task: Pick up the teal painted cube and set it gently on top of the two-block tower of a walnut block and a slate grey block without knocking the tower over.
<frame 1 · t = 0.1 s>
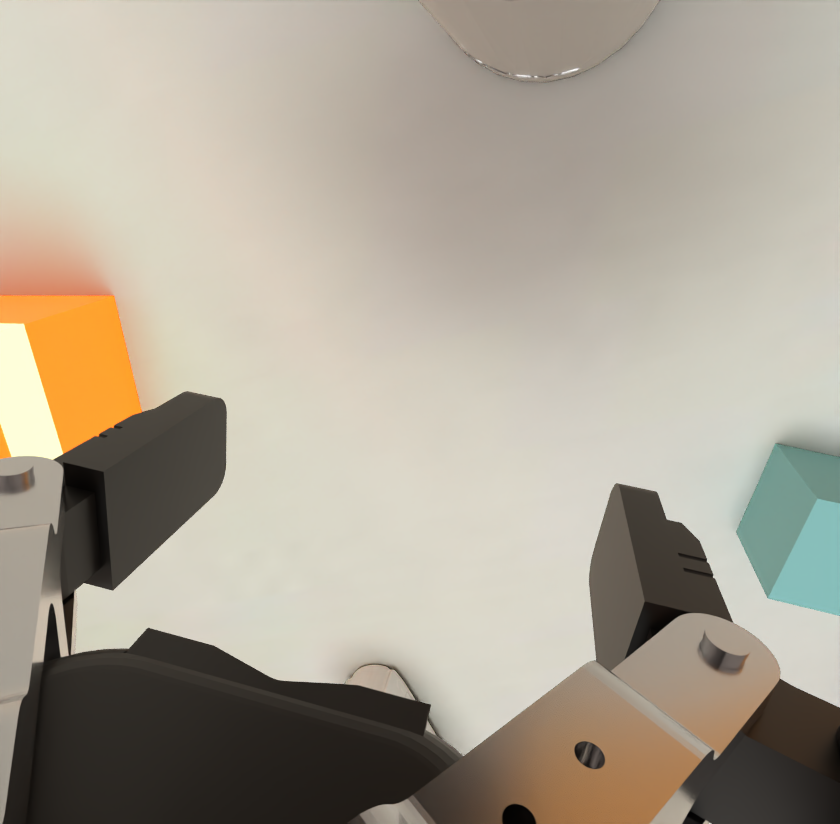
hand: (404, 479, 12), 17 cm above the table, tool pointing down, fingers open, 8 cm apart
teal block: (809, 500, 28), on the table
photo printer: (402, 717, 40), on the table
orange juice: (76, 370, 34), on the table
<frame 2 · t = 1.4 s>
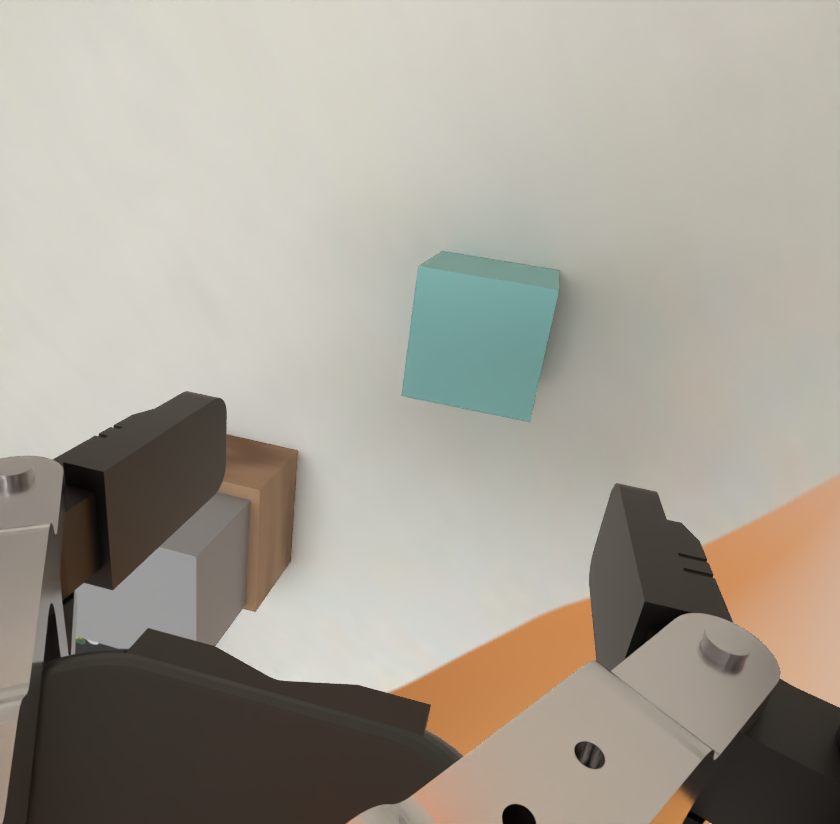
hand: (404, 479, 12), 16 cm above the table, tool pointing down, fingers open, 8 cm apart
walnut base: (235, 492, 33), on the table, touching slate block
slate block: (190, 538, 29), point 4 cm above the table, touching walnut base
teal block: (489, 317, 27), on the table
disk drive: (94, 587, 39), on the table
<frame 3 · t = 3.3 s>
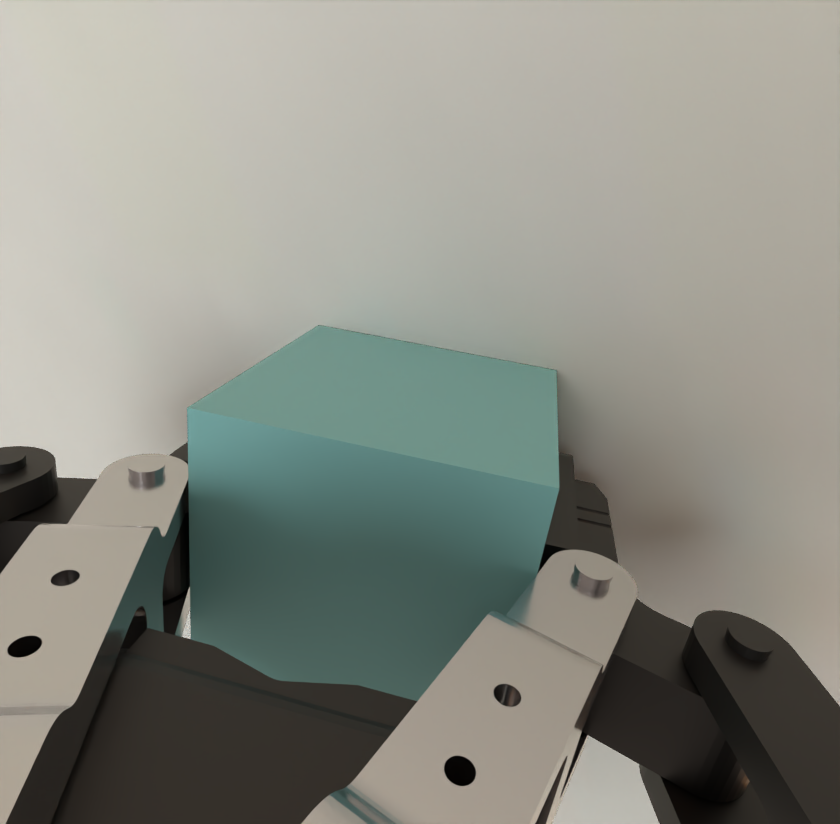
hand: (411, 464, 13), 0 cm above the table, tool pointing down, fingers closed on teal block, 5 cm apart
teal block: (418, 455, 13), on the table, touching gripper
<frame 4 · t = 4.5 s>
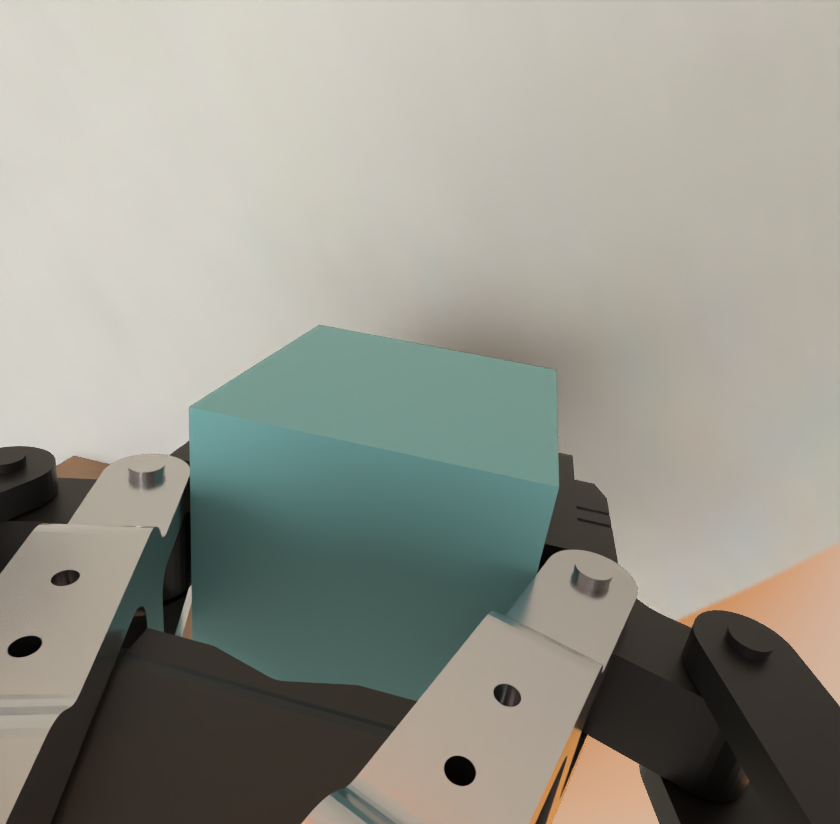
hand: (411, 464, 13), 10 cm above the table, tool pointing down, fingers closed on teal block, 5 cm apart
walnut base: (149, 537, 28), on the table, touching slate block
teal block: (418, 454, 13), point 9 cm above the table, touching gripper
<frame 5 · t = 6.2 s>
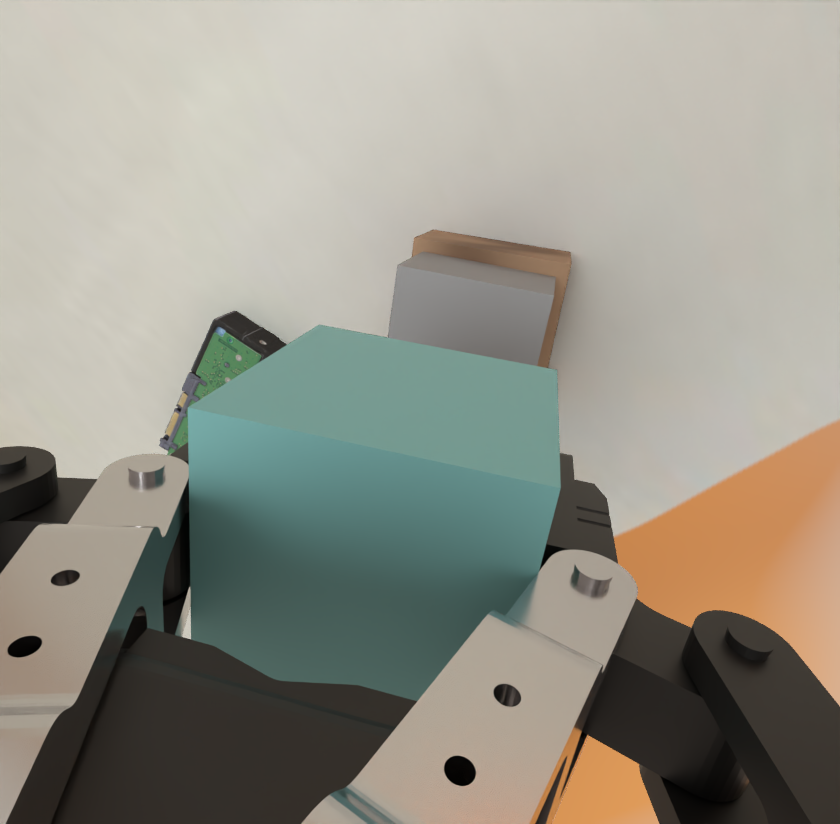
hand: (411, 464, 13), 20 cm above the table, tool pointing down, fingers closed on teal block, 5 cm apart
walnut base: (488, 307, 32), on the table, touching slate block
slate block: (475, 328, 28), point 4 cm above the table, touching walnut base
teal block: (418, 454, 13), point 20 cm above the table, touching gripper
disk drive: (306, 437, 38), on the table
when the fingers open (10 cm above the table, at t = 8.1 s): teal block drops 1 cm, resting on slate block.
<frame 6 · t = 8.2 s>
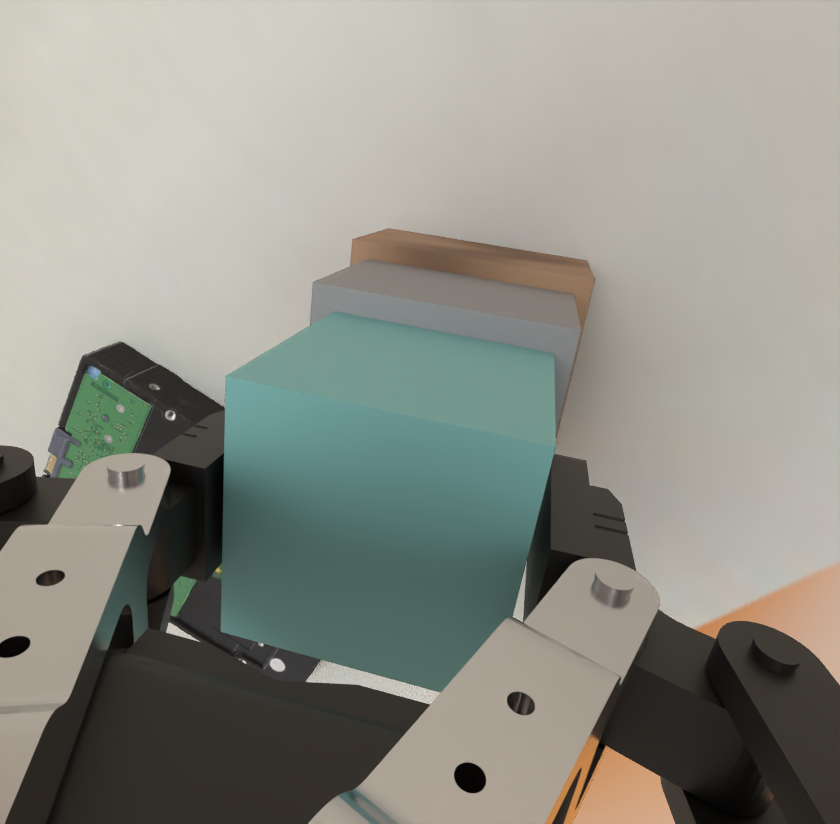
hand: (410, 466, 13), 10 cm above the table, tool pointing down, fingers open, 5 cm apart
walnut base: (469, 338, 23), on the table, touching slate block
slate block: (452, 374, 18), point 4 cm above the table, touching teal block, walnut base
teal block: (425, 433, 14), point 9 cm above the table, touching slate block
disk drive: (228, 508, 28), on the table
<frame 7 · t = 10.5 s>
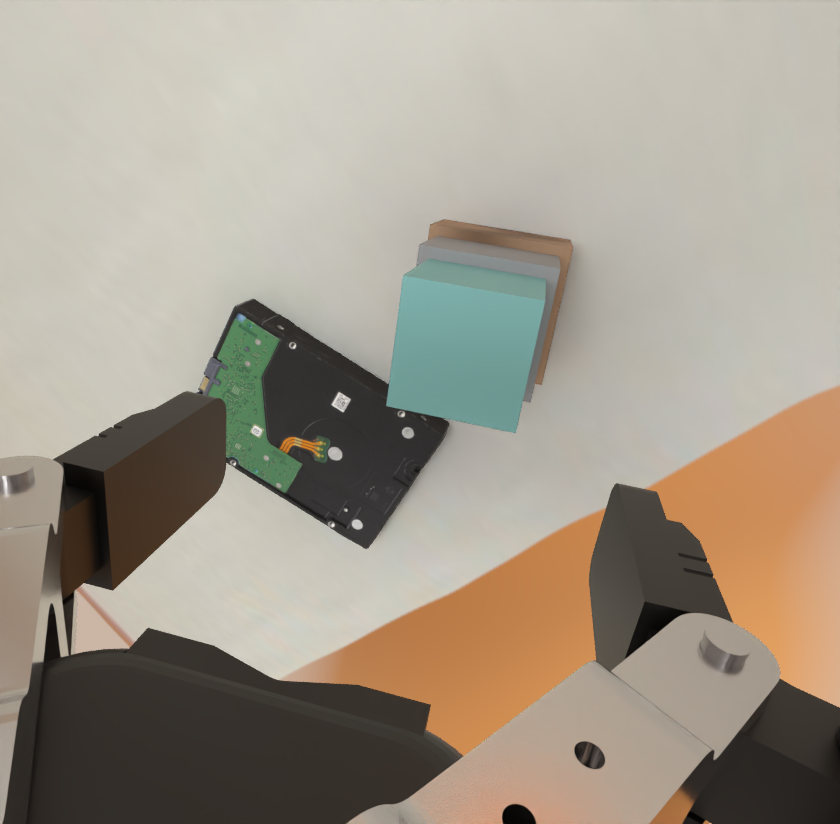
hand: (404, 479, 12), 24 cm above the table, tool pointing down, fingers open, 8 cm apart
walnut base: (494, 291, 35), on the table, touching slate block
slate block: (486, 306, 30), point 4 cm above the table, touching teal block, walnut base
teal block: (476, 325, 26), point 9 cm above the table, touching slate block
disk drive: (320, 418, 40), on the table
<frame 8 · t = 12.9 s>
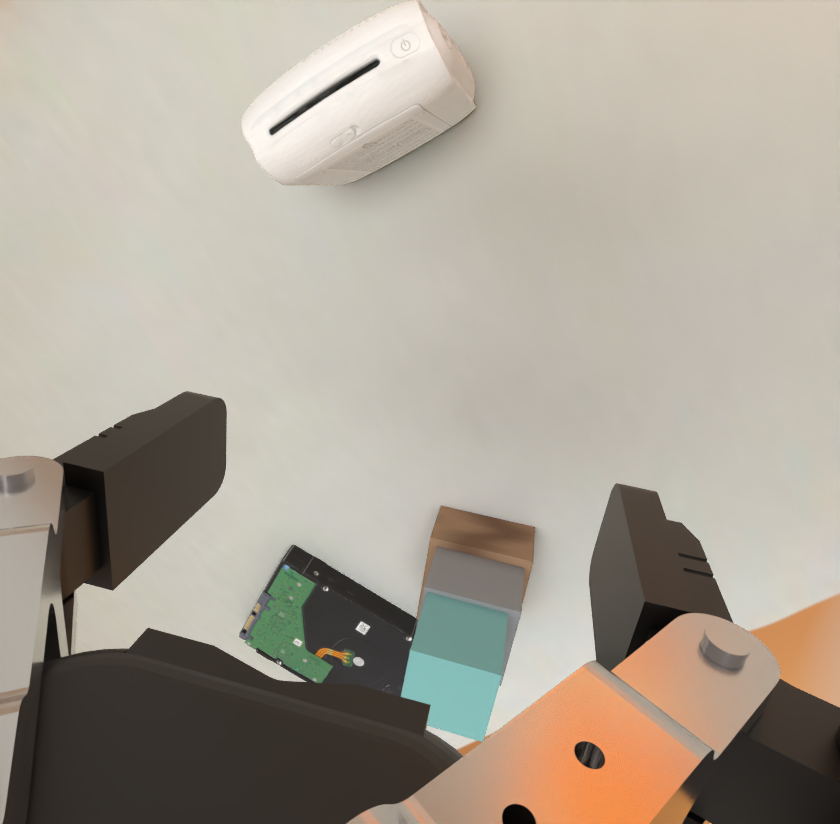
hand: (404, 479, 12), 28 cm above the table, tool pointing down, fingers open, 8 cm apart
walnut base: (479, 554, 46), on the table
slate block: (472, 592, 42), point 4 cm above the table, touching teal block
teal block: (460, 633, 38), point 9 cm above the table, touching slate block
photo printer: (397, 119, 36), on the table
disk drive: (345, 624, 52), on the table
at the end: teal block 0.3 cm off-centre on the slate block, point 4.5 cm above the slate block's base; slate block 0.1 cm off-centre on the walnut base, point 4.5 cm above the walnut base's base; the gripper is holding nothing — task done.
